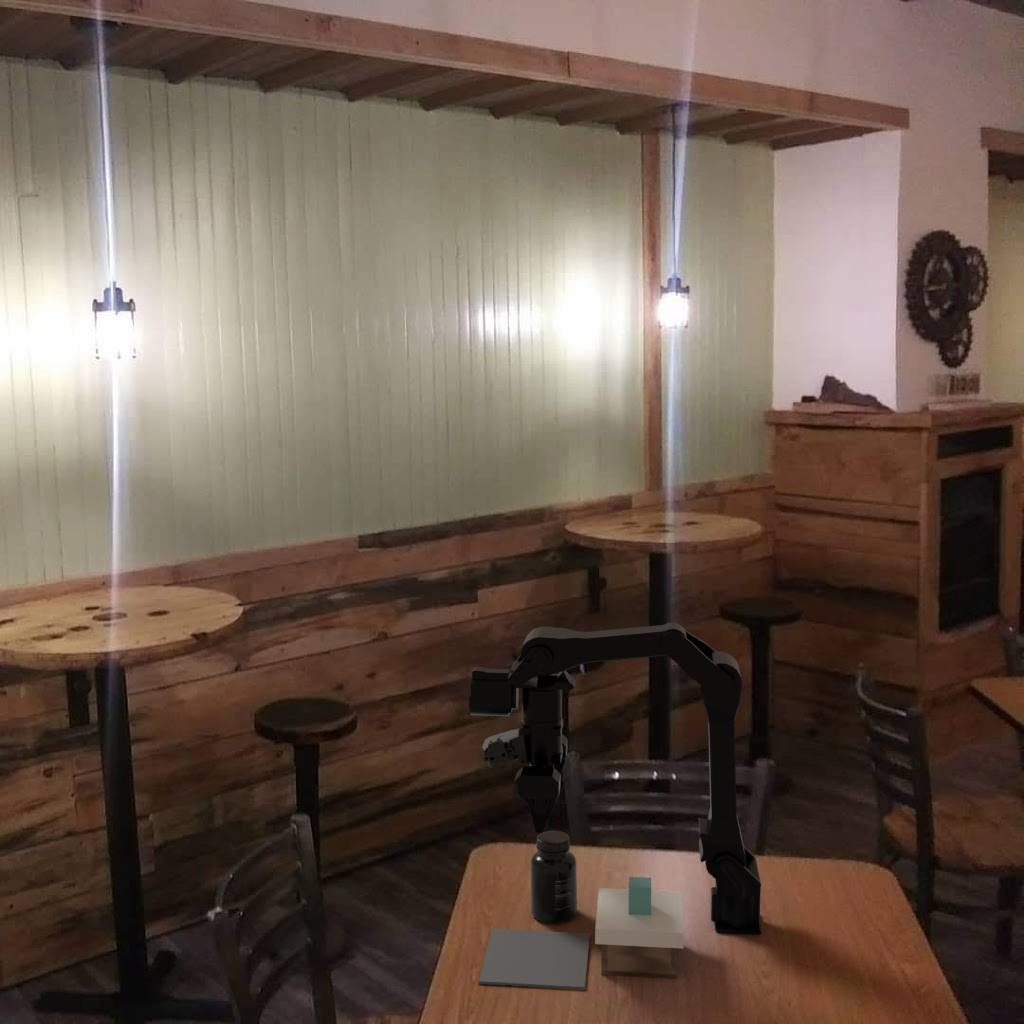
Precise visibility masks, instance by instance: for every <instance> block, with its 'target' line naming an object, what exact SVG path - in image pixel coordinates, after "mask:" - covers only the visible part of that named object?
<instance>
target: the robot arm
mask: <svg viewBox="0 0 1024 1024" xmlns="http://www.w3.org/2000/svg"><path fill="white" fill-rule="evenodd" d="M655 657H668V658H670V659H671V660H672V661H674V662H675V664H677V665H678V666H679V668H680V669H682V670H683V671H684V672H685V673H686V674H687V675H688V676H689V677H690V678H691V679H692V680H693V681H695V682H696V683H698V684H699V685H700V690H701V694H702V699H703V704H704V709H705V713H706V717H707V727H708V735H707V736H708V761H709V762H708V764H709V802H710V803H709V804H710V806H709V807H710V808H709V812H708V816H707V818H702V817H698V828H699V840H698V847H699V848H698V849H699V858H700V859H699V860H700V862H701V863H703V862H705V863H704V864H705V869H706V871H707V873H708V875H710V876H711V877H712V878H714V879H715V882H714V884H715V885H714V886H712V887H711V888H710V921H712V923H714V931H715V932H718V933H731V934H733V933H734V934H739V933H740V934H755V935H760V934H762V927H761V920H760V919H761V891H762V888H761V887H762V883H761V882H762V881H761V876H760V871H759V866H758V862H757V857H756V856H755V855H754V854H753V853H752V852H751V851H750V850H749V849H748V848H746V847H745V845H744V843H743V841H744V840H743V837H742V832H741V831H742V830H741V827H740V824H739V823H740V822H739V818H738V814H737V813H738V811H737V780H736V779H737V776H736V775H737V774H736V772H737V770H736V769H737V768H736V737H735V736H736V733H735V731H736V730H735V728H736V726H735V724H736V720H737V715H738V712H739V711H738V710H739V707H740V701H741V696H742V688H743V681H742V676H741V671H740V668H739V663H738V662H737V660H736V659H735V658H734V657H733V656H732V655H731V654H730V653H727V652H725V651H716V650H715V649H714V648H712V647H711V646H710V645H709V644H708V643H706V642H705V641H703V640H701V638H698V637H696V635H693V634H692V633H690V632H689V631H688V630H686V629H685V628H684V627H683V626H682V625H681V624H680V623H677V622H667V623H665V624H662V625H661V624H660V625H659V624H658V625H651V626H650V625H647V626H638V627H637V626H636V627H628V628H627V627H626V628H618V629H615V628H614V629H606V630H605V629H604V630H594V631H593V630H592V631H580V630H578V631H577V630H575V629H570V628H565V627H553V626H540V627H535V628H533V629H532V630H531V631H529V633H528V634H527V635H526V637H525V639H524V642H523V645H522V647H521V650H520V655H519V656H518V657H517V659H516V660H514V661H513V663H512V666H511V667H510V669H509V668H506V669H504V668H503V669H502V668H498V669H497V668H487V667H482V666H475V667H474V668H473V669H472V671H471V681H470V682H471V683H470V693H469V696H468V708H469V709H468V711H469V714H470V716H489V717H490V716H492V717H494V716H496V717H510V716H511V714H512V713H513V710H518V708H519V699H520V698H519V697H520V695H519V691H520V689H522V691H521V694H522V696H521V697H522V699H521V700H522V701H521V703H522V706H521V710H522V715H521V717H522V718H521V721H520V726H519V727H518V728H515V729H510V730H507V731H504V732H500V733H497V734H494V735H491V736H489V737H486V738H485V740H484V742H483V744H482V746H481V748H482V751H483V754H484V756H483V761H484V762H487V765H488V767H489V768H490V769H493V768H497V767H498V766H499V765H501V764H506V763H508V762H511V761H512V762H513V761H515V760H516V759H517V763H518V764H524V765H528V766H522V767H521V768H520V769H519V770H518V771H516V774H515V777H514V781H513V793H514V794H513V795H516V796H517V797H518V798H520V799H523V800H524V801H525V802H526V803H527V807H528V810H529V813H530V816H531V820H532V825H533V828H534V833H536V834H541V833H543V832H545V828H546V826H547V824H548V822H549V819H550V818H551V814H552V812H553V810H554V808H555V805H556V803H557V801H558V799H559V797H560V791H561V782H562V780H561V774H562V772H563V769H564V767H565V763H566V760H567V755H568V738H567V737H566V735H564V734H563V727H564V718H563V690H565V691H573V690H574V689H575V685H576V678H574V677H573V676H572V674H569V673H568V672H567V671H569V670H572V669H573V668H575V667H578V666H580V665H584V664H588V663H598V662H608V661H609V662H610V661H622V660H632V659H633V660H634V659H641V658H642V659H644V658H655Z"/></svg>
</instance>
